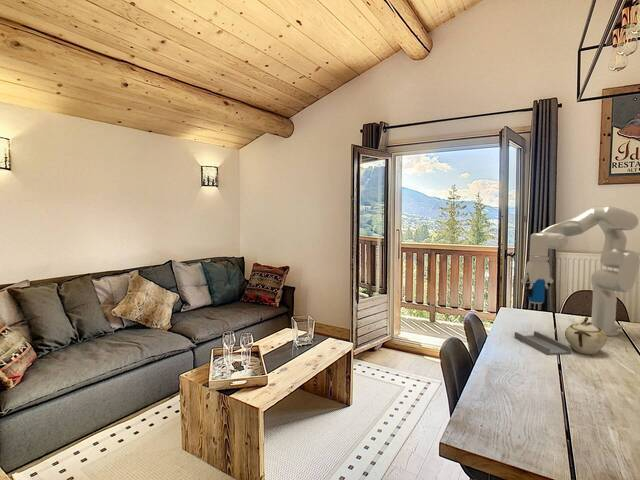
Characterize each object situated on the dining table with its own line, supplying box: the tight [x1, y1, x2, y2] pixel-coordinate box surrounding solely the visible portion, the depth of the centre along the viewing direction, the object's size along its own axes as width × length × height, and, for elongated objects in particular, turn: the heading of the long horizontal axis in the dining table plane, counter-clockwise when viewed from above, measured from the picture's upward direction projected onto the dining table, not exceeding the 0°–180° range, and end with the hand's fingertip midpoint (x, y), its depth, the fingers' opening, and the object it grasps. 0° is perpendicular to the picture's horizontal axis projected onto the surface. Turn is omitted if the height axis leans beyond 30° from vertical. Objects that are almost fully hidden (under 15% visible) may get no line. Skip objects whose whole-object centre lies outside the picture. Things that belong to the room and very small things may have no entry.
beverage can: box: [528, 279, 545, 305], centre depth 178 cm, size 6×6×12 cm
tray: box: [514, 330, 573, 356], centre depth 168 cm, size 11×22×3 cm, turn 7°
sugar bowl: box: [564, 316, 608, 355], centre depth 162 cm, size 20×15×15 cm
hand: (536, 296), depth 178 cm, fingers closed on beverage can, 6 cm apart
